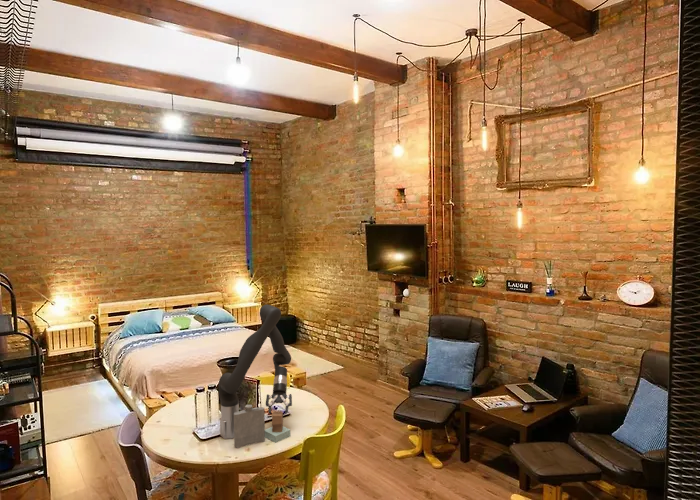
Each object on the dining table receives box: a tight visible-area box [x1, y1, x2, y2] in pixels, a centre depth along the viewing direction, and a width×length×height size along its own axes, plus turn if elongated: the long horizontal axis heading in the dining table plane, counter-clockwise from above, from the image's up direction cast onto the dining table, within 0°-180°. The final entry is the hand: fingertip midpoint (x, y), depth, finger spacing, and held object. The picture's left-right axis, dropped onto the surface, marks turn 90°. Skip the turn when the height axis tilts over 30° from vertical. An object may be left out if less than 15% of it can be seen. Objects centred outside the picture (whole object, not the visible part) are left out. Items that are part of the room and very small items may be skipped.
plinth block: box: [265, 425, 291, 444], centre depth 247 cm, size 10×10×4 cm
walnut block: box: [271, 411, 284, 432], centre depth 246 cm, size 5×5×9 cm
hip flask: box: [233, 404, 266, 449], centre depth 239 cm, size 16×4×20 cm, turn 119°
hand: (278, 413), depth 251 cm, fingers open, 8 cm apart
